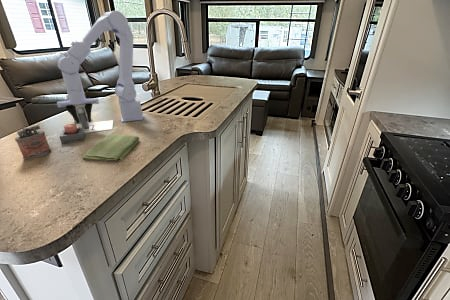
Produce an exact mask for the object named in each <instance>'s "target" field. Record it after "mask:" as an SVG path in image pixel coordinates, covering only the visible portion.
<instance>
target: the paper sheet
mask: <svg viewBox="0 0 450 300" xmlns="http://www.w3.org/2000/svg"><path fill="white" fill-rule="evenodd" d="M88 124H89V129H84V131H85V134H89V133H90V134H91V133H97V132H104V131H112V130H113V129H114V119H111V120H102V121H93V122H92V121H91V122H88ZM76 126H77V128H82V126H81V123H76Z"/></svg>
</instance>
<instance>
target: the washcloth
mask: <svg viewBox="0 0 450 300" xmlns="http://www.w3.org/2000/svg"><path fill="white" fill-rule="evenodd" d="M139 141H140V136H138V135H122V134H115V133H113V134H112V133H109V134H107V135H106V136H105V137H104V138H103V139H101V140H100V141H99V142H98V143H96V144H95V145H94V146H93V147H91V148H90V149H88V150H87V151H86V153H84V155H83V156H82V159H83V160H86V161H90V160H91V161H92V160H93V161H123V159H124V158H126V156H127V155H128V154H129V153H130V152H131V151H132V150H133V148H135V146H137V144H138V143H139Z"/></svg>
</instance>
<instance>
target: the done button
mask: <svg viewBox="0 0 450 300" xmlns="http://www.w3.org/2000/svg"><path fill="white" fill-rule="evenodd" d="M76 124H77V123H76ZM76 124H75V123H70V124H69V123H68V124H65V125H63V128H64V129H63V130H65V132H66V133H67V134H72V133H76V132H77V131H78V129H77V126H76Z"/></svg>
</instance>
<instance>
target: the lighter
mask: <svg viewBox="0 0 450 300" xmlns="http://www.w3.org/2000/svg"><path fill="white" fill-rule="evenodd" d="M40 129H41V126H40V125H39V124H35V125H32V126H30V127H25V126H24V127H22V129H20V130H16V134H17V135H18V136H17V137H15V138H14V140H15V142H16V144H17V145H18V148H19V150H20V152H21V155H22V160H23V161H24V162H25V161H26V162H27V161H31V160H34V159H37V158H40V157H43V156H46V155H49V154H51V153H52V148H51V147H50V145H49V143H48V140H47V137H46V135H45V134H46V132H45V130H40Z"/></svg>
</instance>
